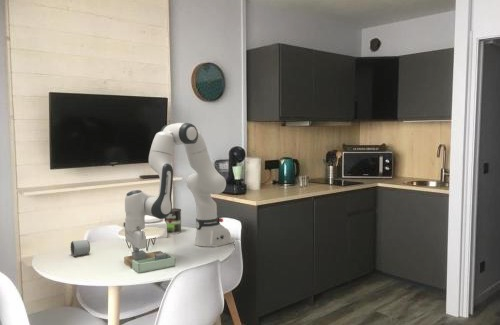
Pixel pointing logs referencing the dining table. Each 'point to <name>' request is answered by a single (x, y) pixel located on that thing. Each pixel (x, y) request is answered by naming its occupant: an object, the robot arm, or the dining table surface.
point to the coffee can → (174, 221)
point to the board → (129, 260)
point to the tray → (152, 264)
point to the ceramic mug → (80, 247)
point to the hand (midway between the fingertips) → (136, 254)
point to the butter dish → (156, 224)
